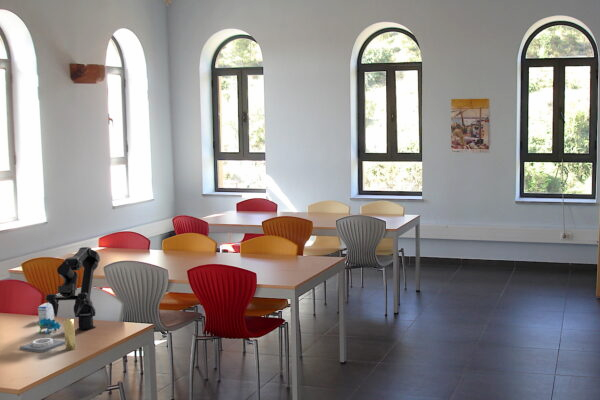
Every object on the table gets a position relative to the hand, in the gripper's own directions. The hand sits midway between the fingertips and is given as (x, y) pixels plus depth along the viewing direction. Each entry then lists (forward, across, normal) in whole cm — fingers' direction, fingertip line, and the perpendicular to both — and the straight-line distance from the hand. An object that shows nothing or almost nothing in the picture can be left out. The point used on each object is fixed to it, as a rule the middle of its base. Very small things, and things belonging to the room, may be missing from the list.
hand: (65, 316), depth 348 cm
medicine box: (-13, -26, +42) cm, 52 cm away
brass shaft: (+15, +4, +1) cm, 15 cm away
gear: (-2, -17, +26) cm, 31 cm away
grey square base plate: (+12, -10, +5) cm, 17 cm away
